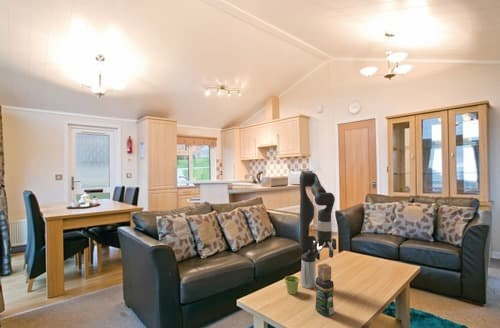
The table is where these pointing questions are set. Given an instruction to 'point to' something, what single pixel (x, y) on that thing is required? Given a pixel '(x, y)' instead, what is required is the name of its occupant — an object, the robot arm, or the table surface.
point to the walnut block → (324, 272)
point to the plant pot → (292, 284)
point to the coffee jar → (324, 297)
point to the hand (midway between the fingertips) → (324, 258)
